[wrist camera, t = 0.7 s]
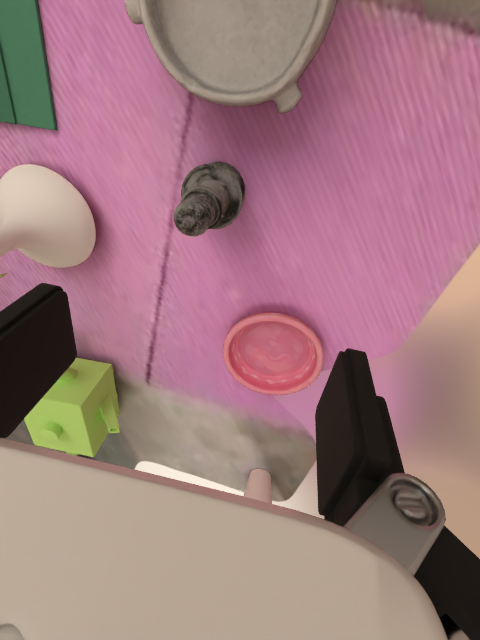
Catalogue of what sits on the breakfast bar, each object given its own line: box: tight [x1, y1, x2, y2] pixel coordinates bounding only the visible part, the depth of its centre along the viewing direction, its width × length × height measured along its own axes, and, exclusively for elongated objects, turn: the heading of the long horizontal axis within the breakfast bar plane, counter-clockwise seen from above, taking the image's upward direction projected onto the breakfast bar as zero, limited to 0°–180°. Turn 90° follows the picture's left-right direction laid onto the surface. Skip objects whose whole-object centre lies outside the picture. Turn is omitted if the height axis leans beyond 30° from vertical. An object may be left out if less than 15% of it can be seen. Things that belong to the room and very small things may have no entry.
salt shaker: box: [174, 162, 245, 236], centre depth 30 cm, size 6×6×12 cm
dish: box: [125, 0, 337, 113], centre depth 25 cm, size 14×14×5 cm
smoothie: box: [244, 469, 272, 504], centre depth 54 cm, size 6×6×14 cm
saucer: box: [223, 312, 324, 395], centre depth 43 cm, size 12×12×3 cm
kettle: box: [24, 358, 120, 457], centre depth 49 cm, size 15×14×11 cm
